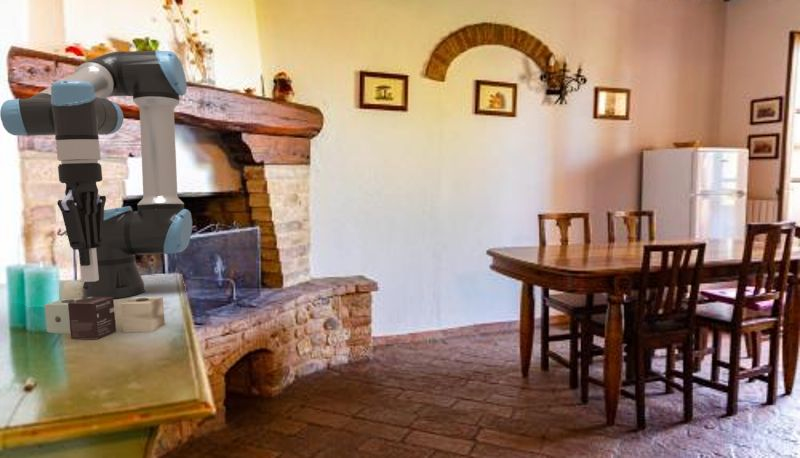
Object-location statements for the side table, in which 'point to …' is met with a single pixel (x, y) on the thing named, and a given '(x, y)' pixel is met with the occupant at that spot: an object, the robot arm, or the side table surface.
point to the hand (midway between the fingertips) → (90, 280)
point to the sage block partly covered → (58, 316)
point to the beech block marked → (142, 314)
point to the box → (91, 317)
